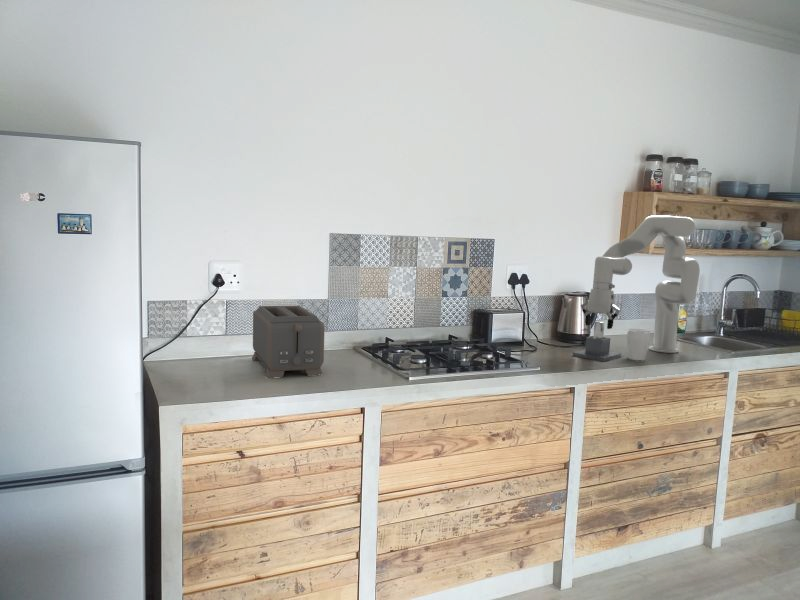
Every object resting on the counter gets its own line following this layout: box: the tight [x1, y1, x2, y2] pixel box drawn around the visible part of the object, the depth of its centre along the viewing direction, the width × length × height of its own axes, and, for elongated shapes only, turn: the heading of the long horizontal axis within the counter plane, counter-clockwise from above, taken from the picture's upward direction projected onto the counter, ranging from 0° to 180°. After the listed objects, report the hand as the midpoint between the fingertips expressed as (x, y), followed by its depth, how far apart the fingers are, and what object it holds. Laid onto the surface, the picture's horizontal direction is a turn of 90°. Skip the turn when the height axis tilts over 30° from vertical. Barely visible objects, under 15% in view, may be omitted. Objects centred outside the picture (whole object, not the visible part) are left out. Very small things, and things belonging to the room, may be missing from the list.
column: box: [593, 321, 605, 339], centre depth 274 cm, size 4×4×13 cm
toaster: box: [251, 305, 325, 379], centre depth 231 cm, size 19×35×20 cm, turn 22°
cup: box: [626, 328, 651, 361], centre depth 273 cm, size 9×9×12 cm
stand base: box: [572, 335, 622, 363], centre depth 275 cm, size 16×14×9 cm
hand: (598, 326), depth 273 cm, fingers open, 9 cm apart
